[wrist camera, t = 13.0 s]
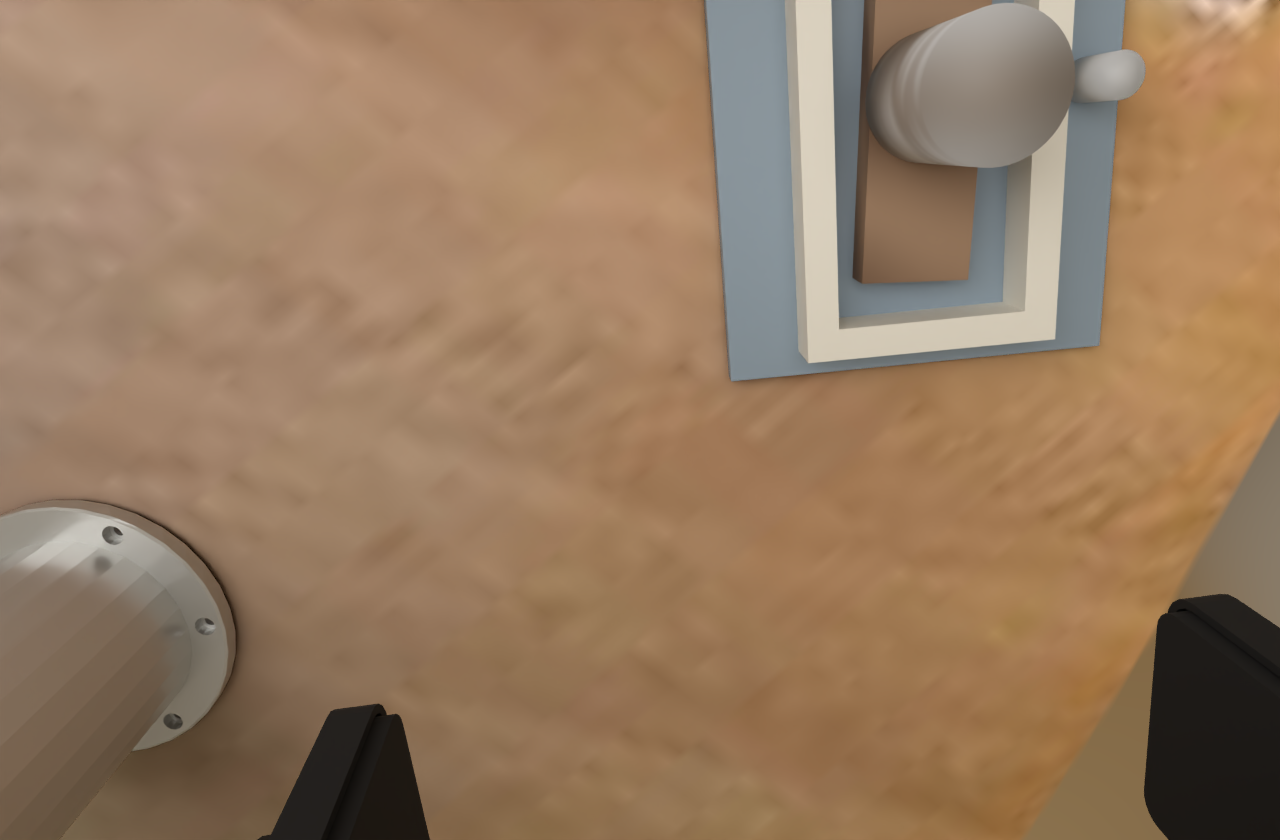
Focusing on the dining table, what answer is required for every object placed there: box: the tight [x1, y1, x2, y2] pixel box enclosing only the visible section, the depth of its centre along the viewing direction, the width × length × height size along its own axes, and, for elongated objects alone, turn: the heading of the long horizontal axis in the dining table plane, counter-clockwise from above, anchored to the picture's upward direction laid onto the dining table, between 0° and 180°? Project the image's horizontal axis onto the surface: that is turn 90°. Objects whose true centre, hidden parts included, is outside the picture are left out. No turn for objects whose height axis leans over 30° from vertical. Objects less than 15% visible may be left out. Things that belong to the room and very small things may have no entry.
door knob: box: [852, 0, 1075, 284], centre depth 28 cm, size 13×4×8 cm, turn 2°
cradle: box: [704, 0, 1145, 381], centre depth 30 cm, size 15×20×3 cm
